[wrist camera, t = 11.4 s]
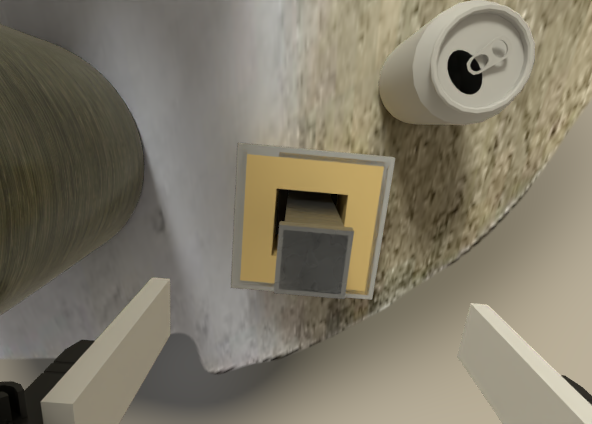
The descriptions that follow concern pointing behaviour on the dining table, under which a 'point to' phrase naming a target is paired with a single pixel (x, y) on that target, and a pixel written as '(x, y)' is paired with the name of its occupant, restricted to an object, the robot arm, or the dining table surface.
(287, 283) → the wedge pin
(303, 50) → the dining table surface
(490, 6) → the can
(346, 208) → the tan hollow block
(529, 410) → the robot arm
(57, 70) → the planter
